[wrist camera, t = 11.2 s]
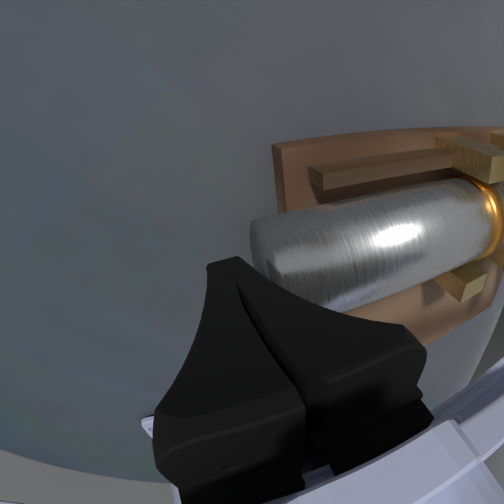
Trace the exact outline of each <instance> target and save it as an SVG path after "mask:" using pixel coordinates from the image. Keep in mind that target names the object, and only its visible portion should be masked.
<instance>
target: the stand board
mask: <svg viewBox="0 0 504 504" xmlns="http://www.w3.org/2000/svg"><path fill="white" fill-rule="evenodd" d="M491 132H500V133H503V134H504V127H436V128H414V129H397V130H384V131H372V132H361V133H352V134H342V135H334V136H326V137H318V138H310V139H303V140H296V141H290V142H283V143H277V144H272V153H273V162H274V172H275V182H276V192H277V202H278V213H279V214H281V213H285V212H290V211H294V210H299V209H303V208H308V207H312V206H317V205H322V204H326V203H331V202H335V201H340V200H345V199H350V198H354V197H359V196H364V195H369V194H374V193H379V192H384V191H389V190H394V189H399V188H404V187H409V186H414V185H419V184H425V183H430V182H435V181H441V180H446V179H448V178H450V177H452V176H456V175H462V174H466V173H464V172H461V171H459V170H457V169H455V168H452V154H449V153H446V152H444V151H441V150H438V149H436V148H435V136H449V135H461V136H464V137H467V138H470V139H472V140H475V141H478V142H481V143H484V144H486V145H489V146H492V147H494V148H497V149H500V150H502V151H504V149H503V148H500V147H497V146H495V145H492V144H490V138H491ZM473 262H474V263H475V264H476V265H478V266H479V267H480V268H482V269H483V270H484V271H486V272H487V276H486V279H485V282H484V285H483V288H482V291H481V292H479V293H477V294H476V295H474V296H472V297H470V298H469V299H467V300H465V301H463V302H462V303H459V302H458V301H457V300H456V299H455V298H454V297H452V296H451V295H450V294H449V293H448V292H447V291H445V290H444V289H443V288H442V287H441V286H440V285H438V284H437V283H436V282H435V281H434V280H433V279H430V280H428V281H425V282H423V283H421V284H418V285H416V286H413V287H411V288H409V289H406V290H404V291H401V292H399V293H396V294H394V295H391V296H388V297H386V298H383V299H381V300H378V301H375V302H373V303H370V304H367V305H365V306H362V307H359V308H357V309H354V310H351V311H348V312H345V313H343V314H347V315H351V316H355V317H359V318H364V319H368V320H373V321H380V322H387V323H395V324H402V325H404V326H405V327H406V328H407V329H408V330H409V331H410V332H411V333H412V334H413V335H414V336H415V337H416V338H417V339H418V341H419V342H420V343H421V344H422V345H423V346H425V345H427V344H429V343H431V342H433V341H434V340H436V339H438V338H440V337H441V336H443V335H445V334H447V333H448V332H450V331H452V330H453V329H455V328H457V327H458V326H460V325H462V324H463V323H465V322H466V321H468V320H470V319H471V318H473V317H474V316H476V315H478V314H479V313H481V312H482V311H484V310H485V309H487V308H488V307H490V306H491V304H492V302H493V299H494V297H495V294H496V291H497V288H498V286H499V283H500V280H501V277H502V274H503V271H504V269H502V268H501V267H500V266H498V265H497V264H496V263H494V262H493V261H492V260H490V259H489V258H487V257H484V258H482V259H480V260H477V261H473Z"/></svg>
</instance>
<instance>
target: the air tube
mask: <svg viewBox="0 0 504 504" xmlns="http://www.w3.org/2000/svg"><path fill="white" fill-rule="evenodd" d="M250 246H251V253H252V259H253V264H254V268H255V270H257V271H258V272H260V273H261V274H262V275H264V276H265V277H267V278H268V279H270V280H271V281H273V282H274V283H276V284H277V285H279V286H281V287H282V288H284V289H286V290H287V291H289V292H291V293H293V294H295V295H297V296H299V297H301V298H303V299H305V300H308V301H310V302H312V303H314V304H317V305H319V306H322V307H325V308H328V309H331V310H334V311H337V312H340V313H345V312H348V311H351V310H354V309H357V308H359V307H362V306H365V305H367V304H370V303H373V302H375V301H378V300H381V299H383V298H386V297H388V296H391V295H394V294H396V293H399V292H401V291H404V290H406V289H409V288H411V287H413V286H416V285H418V284H421V283H423V282H425V281H428V280H430V279H433V278H435V277H437V276H439V275H442V274H444V273H446V272H449V271H451V270H453V269H455V268H458V267H460V266H462V265H464V264H466V263H469V262H473V261H477V260H480V259H482V258H484V257H486V256H488V255H490V254H492V253H493V252H495V251H496V250H497V249H498V248H500V247H502V246H504V181H500V182H496V183H492V184H487V183H485V182H483V181H481V180H479V179H477V178H475V177H473V176H470V175H468V174H462V175H456V176H452V177H450V178H448V179H446V180H441V181H435V182H430V183H425V184H419V185H414V186H409V187H404V188H399V189H394V190H389V191H384V192H379V193H374V194H369V195H364V196H359V197H354V198H350V199H345V200H340V201H335V202H331V203H326V204H322V205H317V206H312V207H308V208H303V209H299V210H294V211H290V212H285V213H281V214H276V215H272V216H268V217H263V218H259V219H255V220H252V222H251V225H250Z"/></svg>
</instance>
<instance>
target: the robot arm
mask: <svg viewBox="0 0 504 504" xmlns="http://www.w3.org/2000/svg"><path fill="white" fill-rule="evenodd" d="M206 269H207V290H206V297H205V303H204V308H203V312H202V317H201V320H200V324H199V327H198V330H197V333H196V336H195V339H194V341H193V344H192V346H191V349H190V351H189V354H188V356H187V358H186V360H185V362H184V364H183V366H182V368H181V369H180V371H179V373H178V375H177V377H176V379H175V380H174V382H173V384H172V385H171V387H170V389H169V390H168V391H167V393H166V394H165V396H164V397H163V399H162V400H161V402H160V403H159V404H158V406H157V407H156V409H155V412H154V416H151V417H146V418H143V419H142V421H141V424H142V427H143V428H144V429H145V431H146V432H147V433H148V434H149V435H150V437H151V438H152V443H153V452H154V458H155V464H156V468H157V469H158V471H159V472H160V473H161V474H162V475H163V476H164V477H165V478H166V479H167V480H169V481H170V482H171V487H172V491H173V496H174V501H175V504H504V491H503V489H502V488H501V487H500V485H499V484H498V482H497V481H496V479H495V478H494V477H493V475H492V474H491V472H490V471H489V469H488V468H487V467H486V465H485V464H484V463H483V461H484V460H486V459H487V458H488V457H489V456H490V455H491V454H492V453H493V452H494V451H495V450H497V449H498V448H499V447H500V446H501V445H502V444H503V443H504V357H503V358H502V359H500V360H499V361H498V362H497V363H496V364H494V366H492V367H491V368H490V369H488V370H487V371H486V372H485V373H483V374H482V375H481V376H479V377H478V378H477V379H476V380H474V381H473V382H472V383H470V384H469V385H468V386H466V387H465V388H463V389H462V390H461V391H459V392H458V393H456V394H455V395H454V396H452V397H451V398H449V399H448V400H446V401H445V402H443V403H442V404H440V405H439V406H437V407H436V408H434V409H433V410H431V411H429V410H428V408H427V407H426V406H425V405H424V403H423V402H422V401H421V398H422V397H423V394H422V392H421V390H420V389H419V388H418V387H417V383H418V380H419V378H420V376H421V373H422V371H423V369H424V366H425V363H426V359H427V351H426V349H425V348H424V346H423V345H422V344H421V343H420V342H419V341H418V339H417V338H416V337H415V336H414V335H413V334H412V333H411V332H410V331H409V330H408V329H407V328H406V327H405V326H404V325H402V324H395V323H387V322H380V321H373V320H368V319H364V318H359V317H355V316H351V315H347V314H343V313H340V312H337V311H334V310H331V309H328V308H325V307H322V306H319V305H317V304H314V303H312V302H310V301H308V300H305V299H303V298H301V297H299V296H297V295H295V294H293V293H291V292H289V291H287V290H286V289H284V288H282V287H281V286H279V285H277V284H276V283H274V282H273V281H271V280H270V279H268V278H267V277H265V276H264V275H262V274H261V273H260V272H258V271H257V270H255V269H254V268H253V267H252V266H250V265H249V264H248V263H246V262H245V261H244V260H243V259H242V258H240V257H239V256H236V257H232V258H228V259H224V260H221V261H217V262H213V263H209V264H208V265H207V267H206ZM0 504H23V503H17V502H9V501H1V500H0Z"/></svg>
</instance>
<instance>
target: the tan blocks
mask: <svg viewBox="0 0 504 504" xmlns="http://www.w3.org/2000/svg"><path fill="white" fill-rule="evenodd" d="M490 144H492V145H495V146H497V147H500V148H503V149H504V134H503V133H500V132H491V138H490ZM435 148H436V149H438V150H441V151H444V152H446V153H449V154H452V168H455V169H457V170H459V171H461V172H464V173H466V174H468V175H470V176H473V177H475V178H477V179H479V180H481V181H483V182H485V183H487V184H492V183H496V182H500V181H504V151H502V150H500V149H497V148H494V147H492V146H489V145H486V144H484V143H481V142H478V141H475V140H472V139H470V138H467V137H464V136H461V135H449V136H435ZM486 257H487V258H489V259H490V260H492V261H493V262H494V263H496V264H497V265H498V266H500V267H501V268H502V269H504V246H502V247H500V248H498V249H497V250H496V251H495V252H493V253H492V254H490V255H488V256H486ZM486 276H487V272H486V271H484V270H483V269H482V268H480V267H479V266H478V265H476V264H475V263H474V262H469V263H466V264H464V265H462V266H460V267H458V268H455V269H453V270H451V271H449V272H446V273H444V274H442V275H439V276H437V277H435V278H433V280H434V281H435V282H436V283H437V284H438V285H440V286H441V287H442V288H443V289H444V290H445V291H447V292H448V293H449V294H450V295H451V296H452V297H454V298H455V299H456V300H457V301H458V302H459V303H462V302H463V301H465V300H467V299H469V298H470V297H472V296H474V295H476V294H477V293H479V292H481V291H482V288H483V285H484V282H485V279H486Z"/></svg>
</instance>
